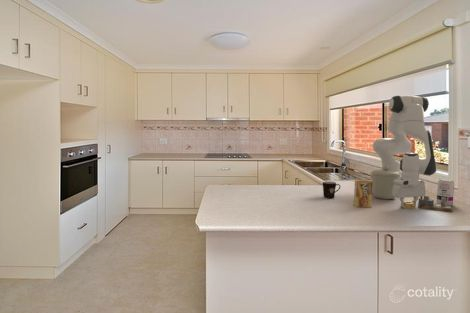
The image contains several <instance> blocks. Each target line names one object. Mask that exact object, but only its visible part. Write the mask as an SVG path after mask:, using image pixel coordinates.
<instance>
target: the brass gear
mask: <svg viewBox="0 0 470 313" xmlns="http://www.w3.org/2000/svg"><path fill="white" fill-rule="evenodd" d="M404 202H405V205H401V204H400V207H401V208H402V209H408V210H414V209H416V206H417V202H416V203H414V202H412V201H409V200H404Z"/></svg>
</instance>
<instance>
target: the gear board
mask: <svg viewBox="0 0 470 313" xmlns="http://www.w3.org/2000/svg"><path fill="white" fill-rule="evenodd" d="M423 198H424V200H429V199H430V195H425V196H423ZM417 208H418V209H425V210H431V211H432V210H433V211H440V212H450V213H453V208H452V205H451V206H450V205H446V198H444V197H441V204H438V203H434V204H433V205H432V206H425V205H421V204H419V201H417Z"/></svg>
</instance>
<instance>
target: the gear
mask: <svg viewBox="0 0 470 313" xmlns="http://www.w3.org/2000/svg"><path fill="white" fill-rule="evenodd" d="M418 202H419V204H421V205H425V206H432V205H433V204H435V201H434V199H432V198H429V200H424V197H418Z"/></svg>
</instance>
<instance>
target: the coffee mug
mask: <svg viewBox="0 0 470 313" xmlns="http://www.w3.org/2000/svg"><path fill="white" fill-rule="evenodd" d="M337 186H339V187H338V188H337V190H336V187H337ZM340 189H341V184H339V183H337V182H336V181H328V180H326V181H322V193H323V198H324V199H331V200H332V199H335V193H337V192H338V191H339V190H340Z"/></svg>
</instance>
